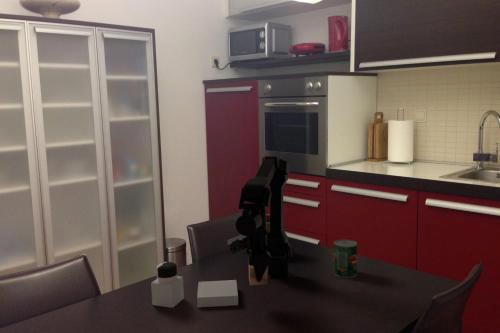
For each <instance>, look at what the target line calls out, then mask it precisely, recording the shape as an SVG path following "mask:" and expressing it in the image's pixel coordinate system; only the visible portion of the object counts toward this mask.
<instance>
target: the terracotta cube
mask: <svg viewBox="0 0 500 333" xmlns="http://www.w3.org/2000/svg"><path fill="white" fill-rule="evenodd" d="M248 281H249V286H261V285H262V286H265V285H268V272H267V268H266V270H265V273H264V275H263V277H262V280H261V282H257V280H256V275H255V271H254V267H253V266H251V265H249V263H248Z"/></svg>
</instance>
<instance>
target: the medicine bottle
mask: <svg viewBox="0 0 500 333" xmlns="http://www.w3.org/2000/svg"><path fill="white" fill-rule="evenodd" d="M155 270H156V279H155V280H153V281H152V282H151V283H150V284H151V285H150V287H151V303H152V306H155V307H156V306H157V307H162V308H163V307H164V308H170V309H173V308H175V306H177V305H178V304H180V302H182V300H184V299H185V292H184V276H180V275H178V265H177V263H175V262H171V261H164V262H161V263H158V264H157V265H156V269H155Z"/></svg>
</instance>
